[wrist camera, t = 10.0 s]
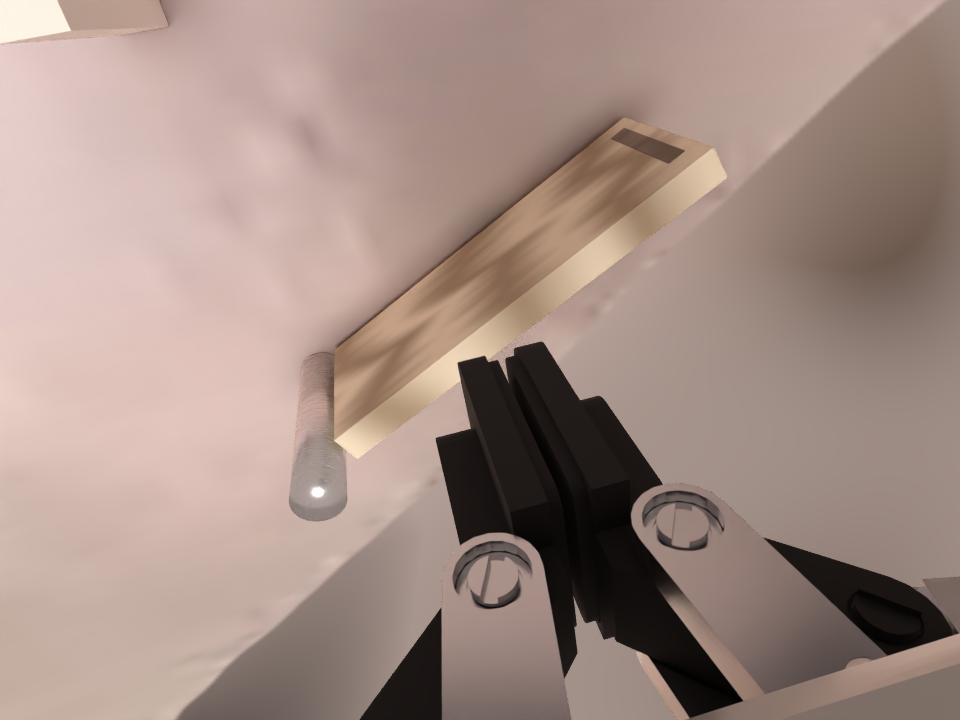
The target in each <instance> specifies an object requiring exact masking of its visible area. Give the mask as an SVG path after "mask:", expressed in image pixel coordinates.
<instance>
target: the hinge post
mask: <svg viewBox="0 0 960 720" xmlns="http://www.w3.org/2000/svg"><path fill="white" fill-rule="evenodd" d="M346 503H347V472H346V450H345V449H344V448H343V447H341V446H340V445H339V444H338V443H336V442H335V441H334V355H332V354H328V353H317V354H314V355H311V356H310V357H308V358H307V359H306V360H305V361H304V363H303V365H302V370H301V380H300V391H299V401H298V412H297V422H296V433H295V443H294V454H293V464H292V475H291V485H290V496H289V505H290V508H291V510H292V511H293V512H294V513H295V514H296V515H297V516H298V517H300V518H302V519H305V520H308V521H324V520H328V519H331V518H333V517H335V516H337V515H338V514H339V513H341V512H342V510H343V509H344V508H345V506H346Z"/></svg>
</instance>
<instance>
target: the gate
mask: <svg viewBox="0 0 960 720" xmlns="http://www.w3.org/2000/svg"><path fill="white" fill-rule="evenodd" d="M726 178H728V177H727V175H726V173H725V171H724V168H723V166H722V164H721V162H720V160H719V158H718V156H717V153H716V151H715V149H714V147H711V146H708V145H705V144H702V143H699V142H697V141H694V140H691V139H688V138H685V137H682V136H679V135H676V134H673V133H670V132H667V131H664V130H661V129H658V128H655V127H652V126H649V125H646V124H643V123H640V122H637V121H634V120H631V119H629V118H626V117H624V118H622V119H621V120H620V121H619V122H617V123H616V124H615V125H614V126H612V127H611V128H610V129H609V130H607V131H606V132H605V133H604V134H602V135H601V136H600V137H599V138H598V139H596V140H595V141H594V142H593V143H591V144H590V145H589V146H588V147H586V148H585V149H584V150H583V151H581V152H580V153H579V154H578V155H576V156H575V157H574V158H573V159H571V160H570V161H569V162H568V163H566V164H565V165H564V166H563V167H561V168H560V169H559V170H558V171H556V172H555V173H554V174H553V175H552V176H550V177H549V178H548V179H547V180H545V181H544V182H543V183H542V184H540V185H539V186H538V187H537V188H535V189H534V190H533V191H532V192H530V193H529V194H528V195H527V196H525V197H524V198H523V199H522V200H520V201H519V202H518V203H517V204H515V205H514V206H513V207H512V208H510V209H509V210H508V211H507V212H505V213H504V214H503V215H502V216H501V217H499V218H498V219H497V220H496V221H494V222H493V223H492V224H491V225H489V226H488V227H487V228H486V229H484V230H483V231H482V232H481V233H479V234H478V235H477V236H476V237H474V238H473V239H472V240H471V241H469V242H468V243H467V244H466V245H464V246H463V247H462V248H461V249H459V250H458V251H457V252H456V253H455V254H453V255H452V256H451V257H450V258H448V259H447V260H446V261H445V262H443V263H442V264H441V265H440V266H438V267H437V268H436V269H435V270H433V271H432V272H431V273H430V274H428V275H427V276H426V277H425V278H423V279H422V280H421V281H420V282H418V283H417V284H416V285H415V286H413V287H412V288H411V289H410V290H409V291H407V292H406V293H405V294H404V295H402V296H401V297H400V298H399V299H397V300H396V301H395V302H394V303H392V304H391V305H390V306H389V307H387V308H386V309H385V310H384V311H382V312H381V313H380V314H379V315H377V316H376V317H375V318H374V319H372V320H371V321H370V322H369V323H367V324H366V325H365V326H364V327H362V328H361V329H360V330H359V331H358V332H356V333H355V334H354V335H353V336H351V337H350V338H349V339H348V340H346V341H345V342H344V343H343V344H341V345H340V346H339V347H338V348H336V349H335V350H334V441H335V442H336V443H338V444H339V445H340V446H341V447H343V448H344V449H345V450H346V451H348V452H349V453H350V454H351V455H353V456H354V457H355V458H356V459H358V458H359V457H361V456H362V455H363V454H365V453H366V452H367V451H369V450H370V449H371V448H372V447H374V446H375V445H376V444H378V443H379V442H380V441H382V440H383V439H384V438H386V437H387V436H388V435H390V434H391V433H392V432H394V431H395V430H396V429H397V428H399V427H400V426H401V425H403V424H404V423H405V422H407V421H408V420H409V419H411V418H412V417H413V416H415V415H416V414H417V413H419V412H420V411H421V410H422V409H424V408H425V407H426V406H428V405H429V404H430V403H432V402H433V401H434V400H436V399H437V398H438V397H440V396H441V395H442V394H444V393H445V392H446V391H447V390H449V389H450V388H451V387H453V386H454V385H455V384H457V383H458V382H459V381H461V379H460V375H459V370H458V364H457V362H461V361H465V360H469V359H473V358H477V357H481V356H486V358H487V360H488V359H490V358H491V357H492V356H493V355H495V354H496V353H497V352H499V351H500V350H501V349H503V348H504V347H505V346H507V345H508V344H509V343H511V342H512V341H513V340H515V339H516V338H517V337H518V336H520V335H521V334H522V333H524V332H525V331H526V330H528V329H529V328H530V327H532V326H533V325H534V324H536V323H537V322H538V321H539V320H541V319H542V318H543V317H545V316H546V315H547V314H549V313H550V312H551V311H553V310H554V309H555V308H557V307H558V306H559V305H561V304H562V303H563V302H564V301H566V300H567V299H568V298H570V297H571V296H572V295H574V294H575V293H576V292H578V291H579V290H580V289H582V288H583V287H584V286H586V285H587V284H588V283H589V282H591V281H592V280H593V279H595V278H596V277H597V276H599V275H600V274H601V273H603V272H604V271H605V270H607V269H608V268H609V267H610V266H612V265H613V264H614V263H616V262H617V261H618V260H620V259H621V258H622V257H624V256H625V255H626V254H628V253H629V252H630V251H632V250H633V249H634V248H635V247H637V246H638V245H639V244H641V243H642V242H643V241H645V240H646V239H647V238H649V237H650V236H651V235H653V234H654V233H655V232H657V231H658V230H659V229H660V228H662V227H663V226H664V225H666V224H667V223H668V222H670V221H671V220H672V219H674V218H675V217H676V216H678V215H679V214H680V213H682V212H683V211H684V210H685V209H687V208H688V207H689V206H691V205H692V204H693V203H695V202H696V201H697V200H699V199H700V198H701V197H703V196H704V195H705V194H706V193H708V192H709V191H710V190H712V189H713V188H714V187H716V186H717V185H718V184H720V183H721V182H722V181H724V180H725V179H726Z"/></svg>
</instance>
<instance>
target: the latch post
mask: <svg viewBox="0 0 960 720" xmlns="http://www.w3.org/2000/svg"><path fill="white" fill-rule="evenodd" d="M163 27H169V25H168V22H167V20H166V17H165V14H164V12H163V9H162V6H161V4H160V1H159V0H0V44H12V43H26V42H39V41H52V40H65V39H79V38H92V37H105V36H119V35H125V34H131V33H136V32H142V31H147V30H152V29H158V28H163Z"/></svg>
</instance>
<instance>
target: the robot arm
mask: <svg viewBox="0 0 960 720" xmlns="http://www.w3.org/2000/svg"><path fill="white" fill-rule="evenodd" d="M457 364H458V370H459V375H460V379H461V384H462V389H463V393H464V398H465V403H466V407H467V412H468V417H469V421H470V426H471V429H469V430H465V431H461V432H457V433H453V434H449V435H445V436H442V437H438V438H436V443H437V447H438V451H439V456H440V460H441V464H442V469H443V473H444V477H445V481H446V486H447V490H448V495H449V498H450V503H451V508H452V512H453V516H454V521H455V525H456V529H457V534H458V538H459V542H460V546H459V547H458V548H457V549H456V550H455V551H454V552H453V553H452V554H451V555H450V557H449V559H448V561H447V563H446V565H445V566H444V570H443V575H442V607H441V609H440V610H439V611H438V613H437V614H436V616H435V617H434V618H433V620H432V621H431V623H430V624H429V625H428V626H427V628H426V629H425V631H424V632H423V633H422V635H421V636H420V637H419V639H418V640H417V642H416V643H415V644H414V646H413V647H412V649H411V650H410V651H409V653H408V654H407V655H406V657H405V658H404V659H403V661H402V662H401V663H400V665H399V666H398V668H397V669H396V670H395V672H394V673H393V674H392V676H391V677H390V679H389V680H388V681H387V683H386V684H385V686H384V687H383V688H382V689H381V691H380V692H379V694H378V695H377V696H376V698H375V699H374V700H373V702H372V703H371V705H370V706H369V708H368V709H367V710H366V711H365V713H364V714H363V716H362V717H361V719H360V720H571V715H570V709H569V704H568V698H567V692H566V687H565V681H564V679H565V676H566V675H567V673H568V671H569V669H570V667H571V665H572V663H573V661H574V659H575V657H576V655H577V645H576V637H575V629H574V627H575V626H576V625H577V623H576V615H575V606H574V598H575V600H576V603H577V605H578V608H579V610H580V613H581V615H582V617H583V620H584V621H585V623H589V622H592V621H596V623H597V625H598V627H599V630H600V632H601V634H602V637H603V639H608V638H611V637H615V640H616V641H617V642H619V643H621V644H623V645H626V646H628V647H630V648H632V649H634V650H636V655H637V657H638V659H639V661H640V663H641V666H642V667H643V669H644V671H645V672H646V673H647V675H648V677H649V678H650V680H651V681H652V683H653V684H654V686H655V687H656V689H657V691H658V692H659V694H660V695H661V697H662V698H663V700H664V701H665V702H666V704H667V706H668V707H669V709H670V710H671V712H672V714H673V715H674V717H675V718H676V720H960V577H948V578H932V579H921V582H920V584H919V587H911V586H909V585H907V584H905V583H902V582H900V581H898V580H895V579H893V578H891V577H888V576H885V575H882V574H878V573H875V572H872V571H869V570H866V569H863V568H859V567H856V566H853V565H850V564H847V563H843V562H840V561H837V560H833V559H831V558H827V557H824V556H821V555H818V554H814V553H811V552H808V551H805V550H802V549H799V548H796V547H792V546H789V545H786V544H783V543H779V542H776V541H773V540H770V539H767V538H763V537H762V536H761V535H760V534H759V533H758V532H756V531H755V530H754V529H753V528H752V527H751V526H750V525H749V524H748V523H747V522H746V521H745V520H744V519H743V518H742V517H741V516H739V514H737V513H736V512H735V511H734V510H733V509H732V508H731V507H730V506H729V505H728V504H727V503H726V502H725V501H724V500H722V499H721V498H719V497H718V496H717V495H715V494H714V493H713V492H711V491H708V490H706V489H703V488H701V487H699V486H694V485H689V484H683V483H676V484H664V485H663V484H662V482H661V481H660V479H659V478H658V476H657V475H656V474H655V472H654V471H653V469H652V468H651V466H650V465H649V463H648V462H647V461H646V459H645V458H644V456H643V455H642V453H641V452H640V451H639V449H638V448H637V446H636V445H635V443H634V442H633V440H632V439H631V437H630V436H629V435H628V433H627V432H626V430H625V429H624V427H623V426H622V425H621V423H620V422H619V420H618V419H617V417H616V416H615V414H614V413H613V412H612V410H611V409H610V407H609V406H608V404H607V403H606V401H605V400H604V399H603V398H602V397H600V396H596V397H592V398H588V399H584V400H579V398H578V396H577V395H576V393H575V392H574V390H573V389H572V387H571V385H570V384H569V382H568V381H567V379H566V377H565V376H564V374H563V373H562V371H561V369H560V368H559V366H558V365H557V363H556V361H555V360H554V358H553V357H552V355H551V354H550V352H549V350H548V349H547V347H546V346H545V344H544V343H543V342H537V343H533V344H529V345H525V346H521V347H517V348H515V349H514V356H512V357H508V358H506V369H507V375H508V381H509V383H508V381H507V379H506V377H505V374H504V372H503V370H502V368H501V366H500V364H499V362H498V360H496V361H492V362H488V361H487V358H486V356H481V357H477V358H473V359H469V360H465V361H461V362H457ZM573 596H574V598H573Z"/></svg>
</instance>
